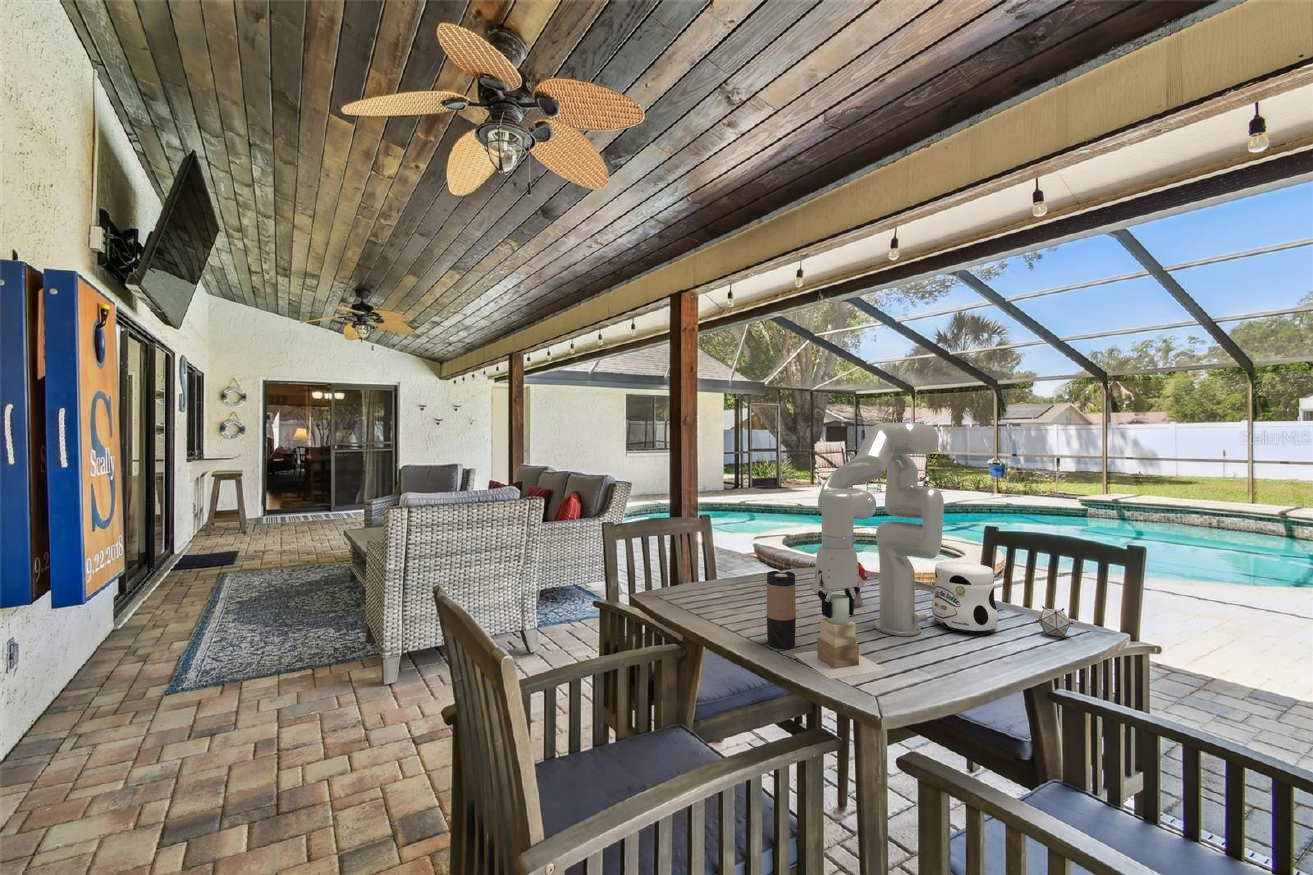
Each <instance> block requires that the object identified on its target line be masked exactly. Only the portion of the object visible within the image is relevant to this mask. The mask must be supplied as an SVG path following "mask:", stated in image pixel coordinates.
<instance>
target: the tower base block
mask: <svg viewBox="0 0 1313 875" xmlns="http://www.w3.org/2000/svg"><path fill="white" fill-rule="evenodd" d="M816 641H817V644H816V645H817V646H816V647H817V650H816V651H817V658H818V659H819V660H821V661H823V662H824V663H826V664H827V665H829V666H831V667H832V668H834V669H837V668H844V667H850V666H857V665H859V655H860V645H859V643H857V642H856V644H853V645H846V646H839V647H834V646H832V645H830V644H829V643H827V642H825V641H823V640H821V639H820V637H817V639H816Z"/></svg>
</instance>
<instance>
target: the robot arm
mask: <svg viewBox="0 0 1313 875" xmlns="http://www.w3.org/2000/svg"><path fill="white" fill-rule="evenodd" d="M938 446H939V434H938V431H937V430H936V428H935V427H934V426H933V425H930V424H923V423H918V422H881V423H877V424H874V425H873V426H871V428H870V429H869V430H868V431H867V433H866V436H865V438H864V439H863V441H862V444H861V445H860V447H859V450H858V451H857V453H856V455H855V457H854V458H853V459H851V460H849V461H847V462H845V463H844V464H842V465H841V466H839V467H838V468H836V469H835V470H833V472H831V473H830V474H829V475H828V477H827V478H826V480H825V482H824V484H823V486H822V488H821V489H820V492H819V495H818V499H817V507H818V510H819V512H820V513H821V546H819V547H818V550H817V555H816V558H815V559H816V560H815V568H814V570H815V571H814V580H813V582H812V583H811V584H810V585H809V586H810V587H809V588H810V590H812V592H814V594H815V595H817V596H818V598H819V600H821V614H822V616H824V617H825V618H832V602H830V598H831V594H833V591H836V590H843V592H844V595H845V596H848V597H849V616H854V613H855V612H854V611H855V607H854V599H856V595H857V593H858V592H859V591H860V592H861V589H862V588H863V587H864V585H865V580H864V581H863V580H862V578H861V577H860V576H859V569H858V562H859V560H858V554H857V550H856V547H854V546H855V545H854V544H855V543H856V542H857V537H856V536H854V535H855V534H854V520H862V521H863V520H864V521H865V520H867V519H869V518H871V517H873V515H874V514H875V512H876V509H877V501H876V498H875V496H874V495H873V494H872V493H871V492H869V491H867V490H865V489H864V490H862V489H851V487H853V486H857V485H860V484H864V483H867V482H870V481H874V480H876V479H878V478H881V477H882V476H883V475H884V474H885V473H886V471H887V473H886V482H885V485H886V486H885V495H884V508H885V511H886V513H887V514H888V515H889V516H892V517H896V518H902V519H903V518H905V519H915V520H921V521H922V523H914V522H913V523H912V522H905V521H895V520H893V521H884V522H882V523H880V524H879V525H878V526H877V528H876V531H875V540H876V545H877V550H878V557H879V558H878V561H879V619H877V620H875V621H874V625H873V627H874V628H875V629H876V631H879V632H880V633H884V634H887V635H890V636H891V635H892V636H898V637H901V636H902V637H912V636H918V635H919V634H921V632H922V631H921V630H922V628H921V626H920V625H919V624H920V622H927V621H928V620H929V619H928V618H929V616H928V615H927V614H917V613H916V612H915V611H916V610H915V609H916V605H915V604H916V597H915V596H916V594H915V593H916V592H915V591H916V590H915V588H916V585H915V581H916V580H915V579H916V576H915V575H916V574H915V572H916V571H915V569H914V566H913V564H912V562H911V561H910V559H909V558H908V557H914V558H920V559H928V560H929V559H931V560H932V559H935V558H937V557H938V556H939V555H940V552H941V548H942V542H943V540H942V539H943V527H944V516H945V502H944V501H945V500H944V497H943V495H942V492H941V491H940V490H939V489H938V488H935V487H932V486H919V484H918V479H919V478H918V477H919V470H918V467H917V465H916V463H915V462H914V460H913V459H912V458H911V456H909V455H931V454H933V453H934V452H935V451H936V449H937V448H938ZM820 587H821V589H820Z"/></svg>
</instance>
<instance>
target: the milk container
mask: <svg viewBox="0 0 1313 875" xmlns="http://www.w3.org/2000/svg"><path fill="white" fill-rule="evenodd" d="M934 574H935V577H934V595H933V599H932V603H931V613H932V618H933V620H934V622H936V623H937V624H938V625H939V626H940V627H941V626H942V627H945V628H946V629H948V630H952V631H953V630H954V631H956V632H963V633H970V634H971V633H972V634H977V633H978V634H979V633H983V634H984V633H988V632H992V631H994V629H996V628H997V625H998V619H999V612H998V609H997V605H996V601H995V573H994V570H993V568H992V567H990V566H987V565H984V564H979V563H974V562H967V561H942V562H941V561H940V562H938V563H935V568H934Z"/></svg>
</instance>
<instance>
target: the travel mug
mask: <svg viewBox="0 0 1313 875" xmlns="http://www.w3.org/2000/svg"><path fill="white" fill-rule="evenodd" d="M796 602H797V601H796V574H795V573H794V572H793V571H785V572H779V571H778V570H771V571H767V572H766V631H767V632H766V635H767V645H768V646H769V647H770V648H772V649H776V650H783V651H784V650H792V649H794V648H795V646H796V624H797V623H796V621H797V620H796V617H797V616H796V612H797V611H796V610H797V607H796V606H797V605H796Z"/></svg>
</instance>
